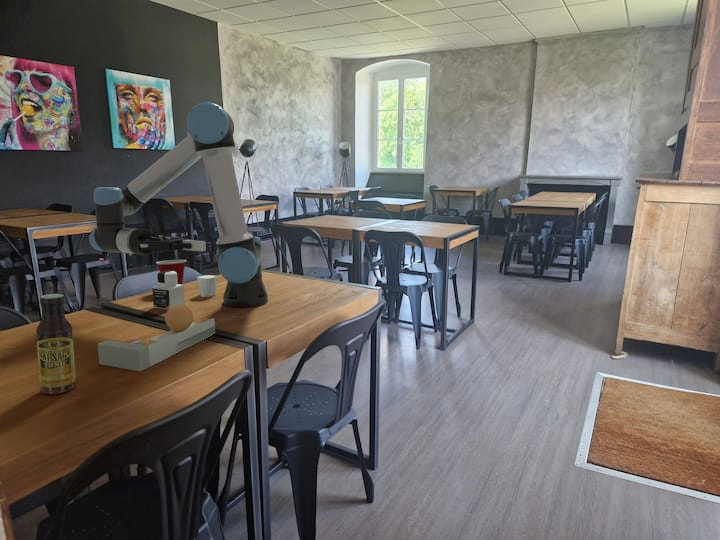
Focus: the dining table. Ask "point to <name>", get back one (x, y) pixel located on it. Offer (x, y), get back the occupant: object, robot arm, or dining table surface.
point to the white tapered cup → (207, 285)
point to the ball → (179, 318)
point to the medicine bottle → (168, 291)
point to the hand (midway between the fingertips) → (203, 246)
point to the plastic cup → (173, 268)
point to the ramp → (152, 347)
